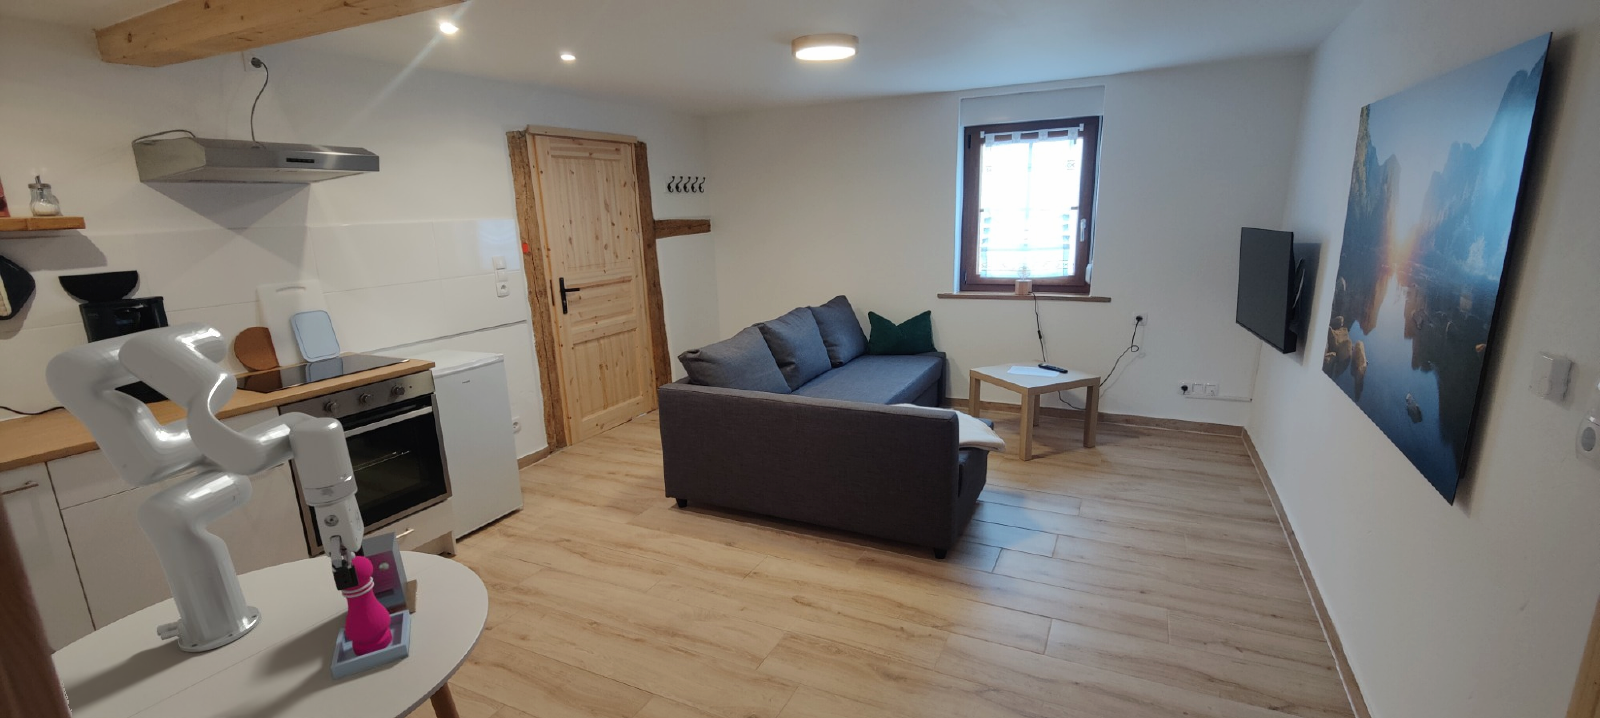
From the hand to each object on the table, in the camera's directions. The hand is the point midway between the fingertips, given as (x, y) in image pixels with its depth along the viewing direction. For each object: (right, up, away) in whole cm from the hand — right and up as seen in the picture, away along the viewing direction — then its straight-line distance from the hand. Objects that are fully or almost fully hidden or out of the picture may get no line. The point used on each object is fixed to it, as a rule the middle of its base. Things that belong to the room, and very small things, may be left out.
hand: (351, 572), depth 122 cm
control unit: (-4, -12, +17) cm, 21 cm away
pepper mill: (+1, -15, +5) cm, 16 cm away
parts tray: (+1, -16, +5) cm, 16 cm away
